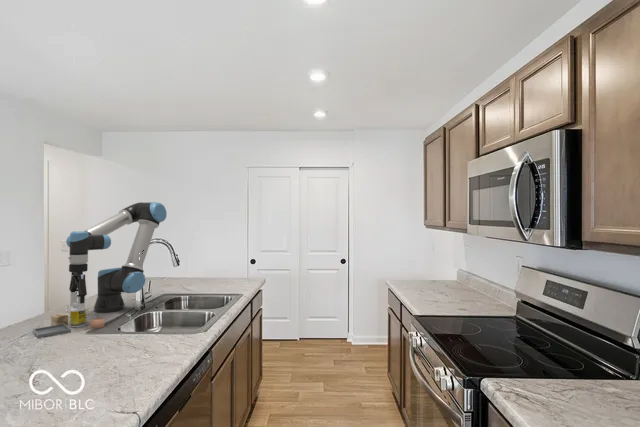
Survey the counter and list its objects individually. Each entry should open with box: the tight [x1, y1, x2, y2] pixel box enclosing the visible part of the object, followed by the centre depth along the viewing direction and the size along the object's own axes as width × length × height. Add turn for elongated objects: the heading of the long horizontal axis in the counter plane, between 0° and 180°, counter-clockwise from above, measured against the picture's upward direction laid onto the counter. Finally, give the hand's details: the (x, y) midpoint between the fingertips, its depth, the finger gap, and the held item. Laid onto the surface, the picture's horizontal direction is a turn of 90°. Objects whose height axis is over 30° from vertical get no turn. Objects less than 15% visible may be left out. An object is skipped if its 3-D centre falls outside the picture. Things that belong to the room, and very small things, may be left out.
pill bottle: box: [69, 301, 87, 328], centre depth 179 cm, size 6×6×11 cm
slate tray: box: [32, 324, 72, 339], centre depth 169 cm, size 12×12×2 cm
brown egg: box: [89, 317, 106, 330], centre depth 178 cm, size 6×6×4 cm
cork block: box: [50, 313, 69, 326], centre depth 180 cm, size 5×5×5 cm
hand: (77, 307), depth 179 cm, fingers open, 13 cm apart
